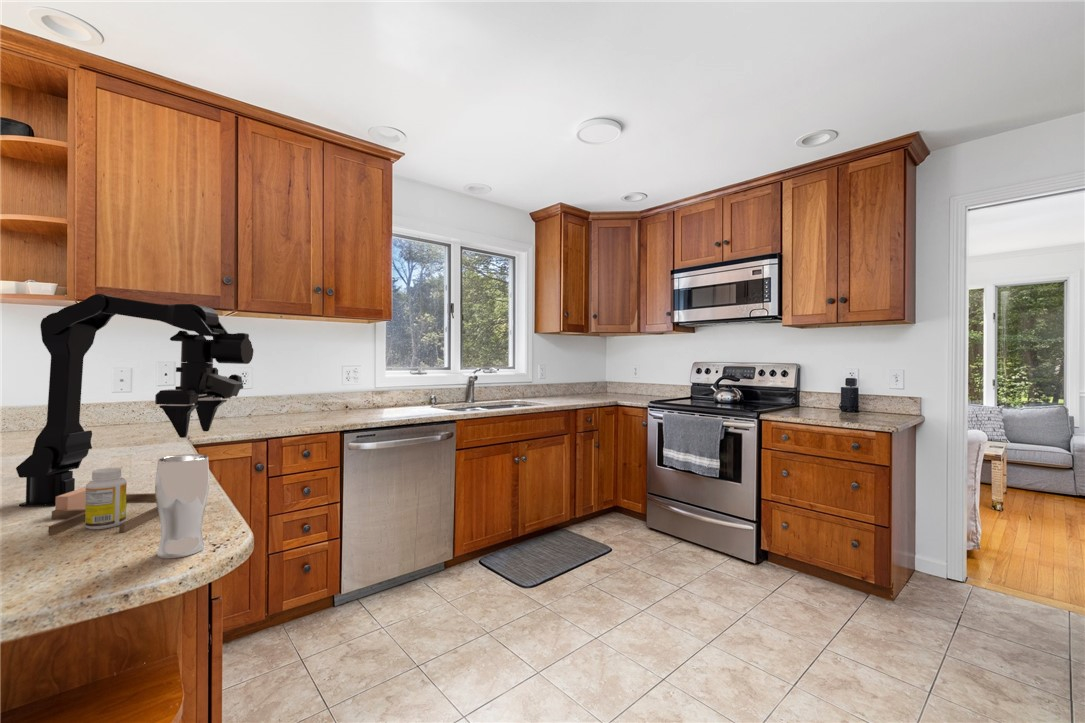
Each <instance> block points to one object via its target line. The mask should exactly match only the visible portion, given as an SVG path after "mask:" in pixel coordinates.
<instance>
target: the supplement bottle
mask: <svg viewBox="0 0 1085 723" xmlns="http://www.w3.org/2000/svg"><path fill="white" fill-rule="evenodd" d="M91 472H92V473H91V481H90V480H89V481H88V482H87V483H86V485H85V487H86V509H85V522H84V524H85V528H87V529H88V530H104V529H111V528H114V527H117V526H118V527H119V524H121V523H123V522H125V521H127V520H126V519H127V517H126V516H127V502H126V494H127V479H126V478H124V477H122V468H120V467H105V468H104V467H103V468H98V469H93V471H91Z"/></svg>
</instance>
